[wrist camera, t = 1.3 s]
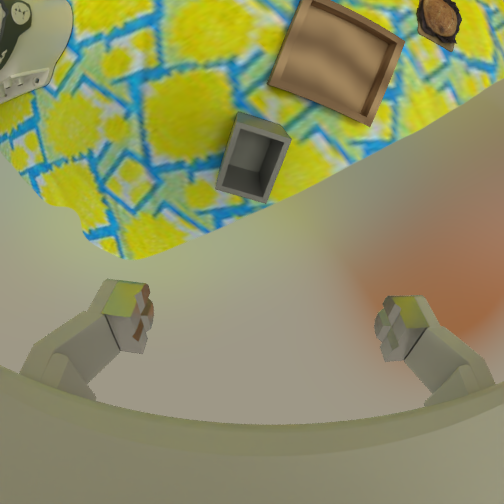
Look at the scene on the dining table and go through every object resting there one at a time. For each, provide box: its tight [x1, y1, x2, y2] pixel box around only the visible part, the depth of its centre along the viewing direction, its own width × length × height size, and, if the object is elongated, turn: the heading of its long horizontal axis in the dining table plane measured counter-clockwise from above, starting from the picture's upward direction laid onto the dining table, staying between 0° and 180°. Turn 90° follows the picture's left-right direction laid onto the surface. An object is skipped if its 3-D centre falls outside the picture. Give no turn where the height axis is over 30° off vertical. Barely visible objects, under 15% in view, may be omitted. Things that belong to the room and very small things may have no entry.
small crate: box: [215, 112, 292, 204], centre depth 33 cm, size 8×6×9 cm
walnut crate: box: [267, 0, 405, 127], centre depth 28 cm, size 14×14×4 cm
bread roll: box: [417, 0, 462, 52], centre depth 22 cm, size 11×8×4 cm
